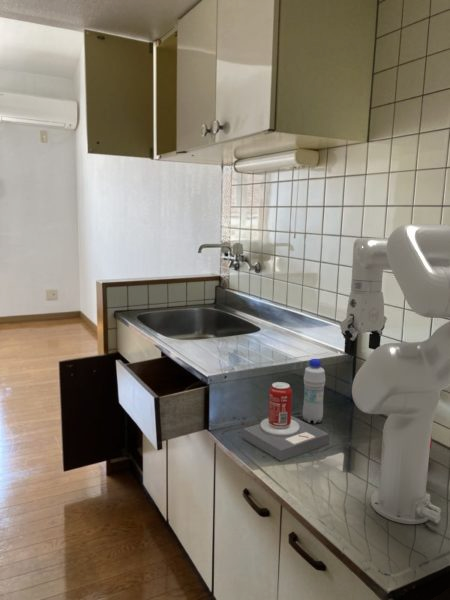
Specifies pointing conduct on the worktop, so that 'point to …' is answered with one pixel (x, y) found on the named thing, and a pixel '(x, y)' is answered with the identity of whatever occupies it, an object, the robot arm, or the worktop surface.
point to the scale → (285, 438)
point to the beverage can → (280, 405)
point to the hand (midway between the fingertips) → (362, 351)
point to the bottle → (313, 392)
